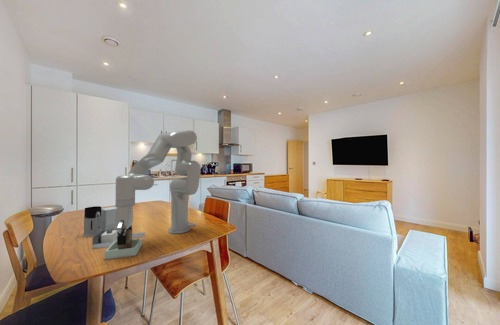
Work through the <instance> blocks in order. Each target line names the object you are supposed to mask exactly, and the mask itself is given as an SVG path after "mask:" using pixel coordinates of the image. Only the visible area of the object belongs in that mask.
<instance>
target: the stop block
mask: <svg viewBox="0 0 500 325" xmlns="http://www.w3.org/2000/svg"><path fill="white" fill-rule="evenodd" d="M123 232H124V230H123ZM132 234H133V228H132V229H126V233H125V235H126V244H125V245H118V249H126V248H132V239H133V238H132Z"/></svg>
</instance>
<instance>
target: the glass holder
mask: <svg viewBox="0 0 500 325" xmlns="http://www.w3.org/2000/svg"><path fill="white" fill-rule="evenodd" d="M101 209H102V206H96V205H95V206H87V207H85V208H84V216H83V235H82V237H83V238H93V237H95V236H96V235H97V234H99V233H100V232H101V231H102V230H101V229H102V214H101Z"/></svg>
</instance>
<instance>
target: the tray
mask: <svg viewBox="0 0 500 325" xmlns="http://www.w3.org/2000/svg"><path fill="white" fill-rule="evenodd" d="M142 246H143V237H140V238H135V239H134V238H132V248H126V249H118V245H117V241H114V242H113V243H112V244H111V245H110V246H109V247H107V248H106V250H104V260H112V259H113V260H114V259H121V258H122V259H123V258H129V257H136V256H137V255H138V253H139V251H140V250H141V247H142Z"/></svg>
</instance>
